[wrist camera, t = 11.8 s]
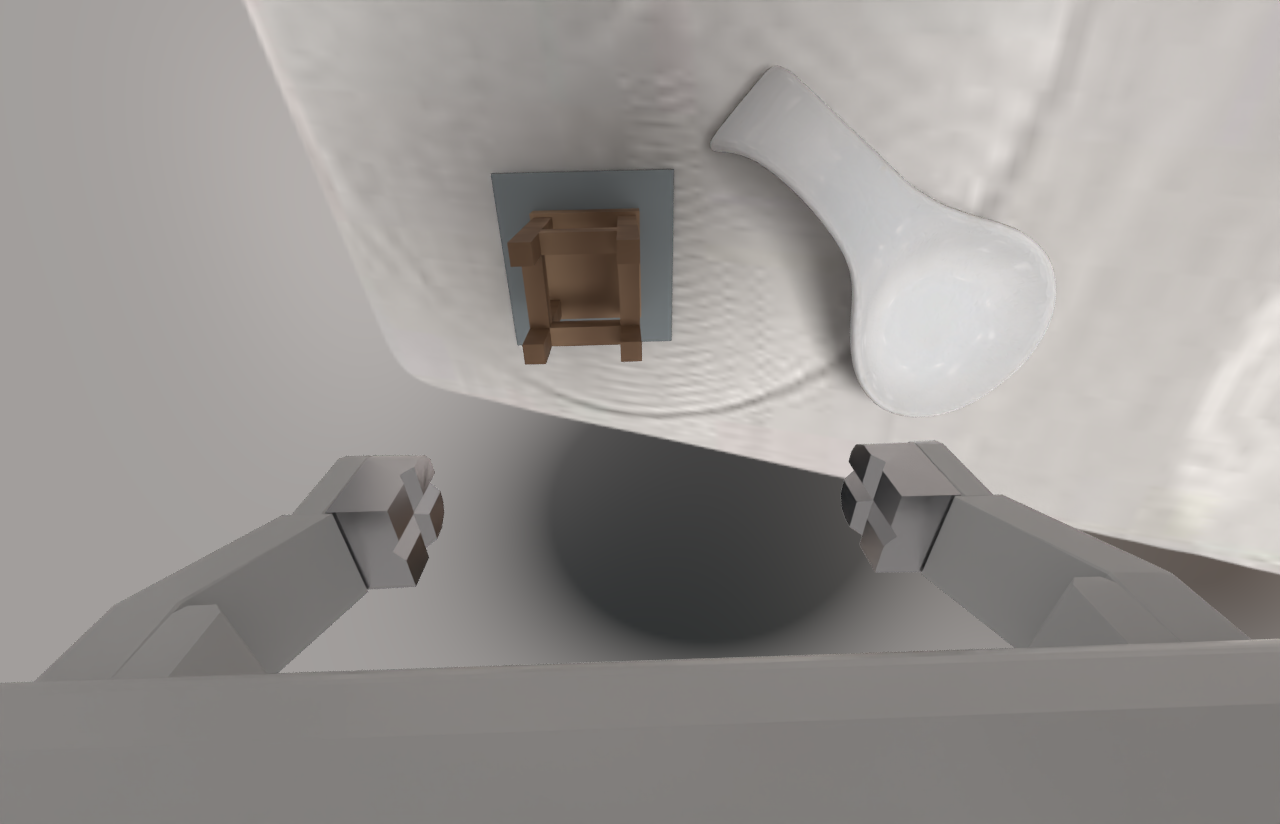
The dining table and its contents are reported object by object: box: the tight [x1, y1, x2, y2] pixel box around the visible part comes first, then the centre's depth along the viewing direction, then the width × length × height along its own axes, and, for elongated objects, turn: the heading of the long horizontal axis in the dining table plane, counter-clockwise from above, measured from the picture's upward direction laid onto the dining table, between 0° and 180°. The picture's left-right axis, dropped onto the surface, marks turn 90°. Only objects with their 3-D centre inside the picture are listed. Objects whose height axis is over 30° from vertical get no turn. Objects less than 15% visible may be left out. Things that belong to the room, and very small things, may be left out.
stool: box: [507, 208, 642, 364], centre depth 25 cm, size 6×6×8 cm
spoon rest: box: [710, 66, 1056, 418], centre depth 27 cm, size 24×12×7 cm, turn 50°
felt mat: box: [491, 169, 674, 345], centre depth 29 cm, size 10×10×1 cm
